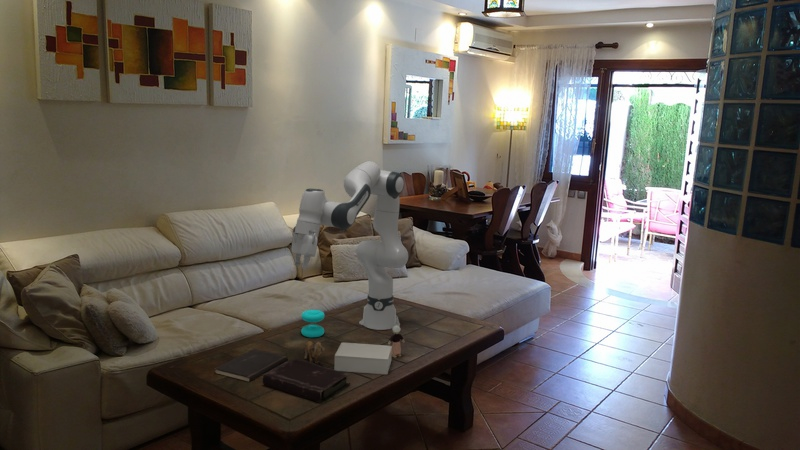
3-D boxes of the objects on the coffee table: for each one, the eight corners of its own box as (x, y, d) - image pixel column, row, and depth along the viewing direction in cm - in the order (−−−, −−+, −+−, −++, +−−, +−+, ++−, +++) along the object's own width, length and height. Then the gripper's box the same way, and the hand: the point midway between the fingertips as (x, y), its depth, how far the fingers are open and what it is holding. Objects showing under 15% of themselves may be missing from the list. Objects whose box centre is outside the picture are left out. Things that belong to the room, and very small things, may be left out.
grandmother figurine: (398, 352, 255) (399, 322, 252) (405, 355, 252) (406, 325, 250) (385, 356, 249) (386, 326, 247) (391, 359, 247) (392, 329, 244)
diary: (319, 405, 207) (319, 391, 206) (262, 387, 219) (262, 374, 218) (351, 385, 223) (351, 372, 222) (296, 369, 235) (296, 356, 234)
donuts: (300, 315, 265) (303, 308, 275) (299, 338, 267) (302, 330, 276) (323, 316, 265) (325, 309, 275) (323, 338, 267) (325, 330, 277)
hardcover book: (214, 374, 228) (214, 368, 227) (254, 354, 248) (254, 348, 248) (249, 383, 221) (249, 377, 221) (287, 362, 242) (287, 356, 241)
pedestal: (341, 356, 248) (341, 342, 247) (391, 360, 246) (392, 345, 245) (334, 370, 234) (334, 355, 233) (387, 374, 232) (387, 359, 231)
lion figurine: (326, 365, 238) (326, 343, 237) (313, 368, 236) (314, 345, 234) (309, 352, 250) (309, 331, 249) (297, 355, 248) (297, 333, 246)
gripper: (323, 233, 226) (317, 270, 225) (307, 231, 244) (300, 266, 244) (307, 229, 223) (300, 268, 223) (291, 228, 242) (285, 263, 241)
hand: (300, 266), depth 233 cm, fingers open, 8 cm apart
